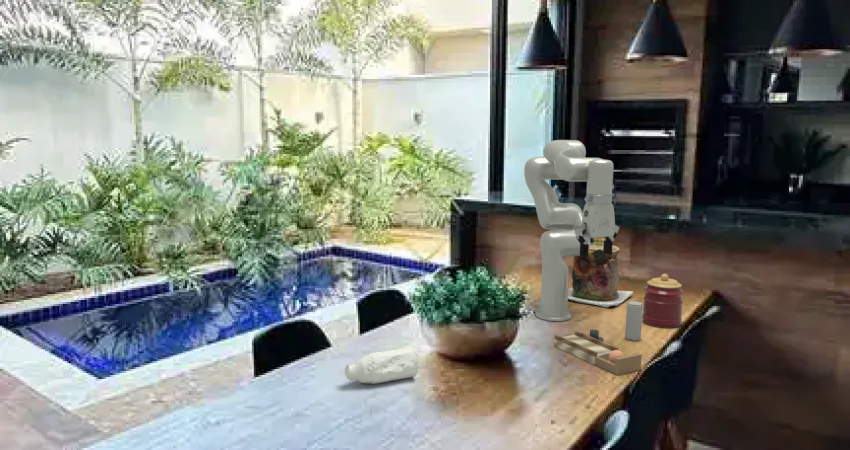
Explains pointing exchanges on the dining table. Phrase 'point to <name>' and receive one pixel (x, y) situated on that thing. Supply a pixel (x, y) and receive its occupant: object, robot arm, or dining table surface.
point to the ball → (615, 355)
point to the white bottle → (384, 366)
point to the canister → (663, 302)
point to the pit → (621, 364)
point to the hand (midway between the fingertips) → (595, 255)
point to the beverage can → (633, 321)
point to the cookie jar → (597, 277)
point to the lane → (584, 346)
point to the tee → (595, 334)
